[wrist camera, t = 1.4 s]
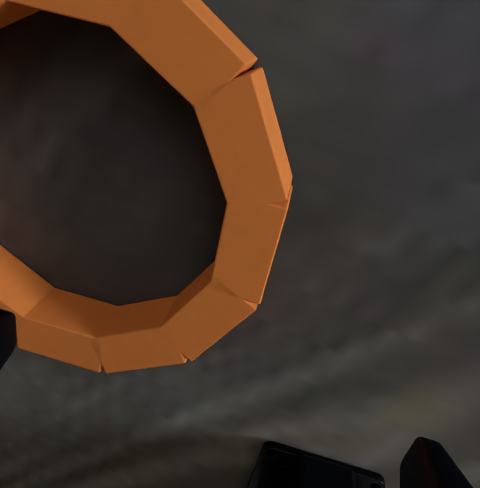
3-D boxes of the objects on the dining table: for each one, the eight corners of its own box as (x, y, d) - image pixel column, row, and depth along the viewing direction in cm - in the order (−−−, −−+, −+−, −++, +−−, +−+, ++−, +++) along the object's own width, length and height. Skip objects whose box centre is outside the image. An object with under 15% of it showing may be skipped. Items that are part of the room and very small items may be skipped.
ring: (238, 373, 20) (228, 412, 18) (-62, 284, 21) (-104, 311, 19) (345, 4, 13) (348, -2, 11) (-129, -108, 14) (-210, -132, 12)
